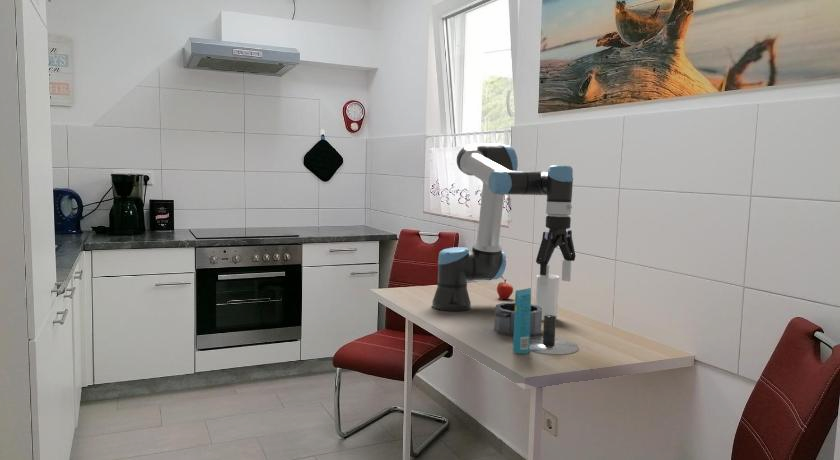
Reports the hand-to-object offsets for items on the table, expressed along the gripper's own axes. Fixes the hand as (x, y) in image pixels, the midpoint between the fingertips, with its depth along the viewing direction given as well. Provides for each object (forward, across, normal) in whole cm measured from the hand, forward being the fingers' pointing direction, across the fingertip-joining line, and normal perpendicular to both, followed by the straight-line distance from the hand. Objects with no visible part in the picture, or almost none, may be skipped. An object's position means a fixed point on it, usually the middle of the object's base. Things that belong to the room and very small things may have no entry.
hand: (555, 283), depth 194 cm
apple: (+19, +46, +50) cm, 71 cm away
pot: (+20, +6, +17) cm, 27 cm away
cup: (+20, +29, +20) cm, 40 cm away
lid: (+20, -2, 0) cm, 20 cm away
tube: (+20, -14, +3) cm, 25 cm away
